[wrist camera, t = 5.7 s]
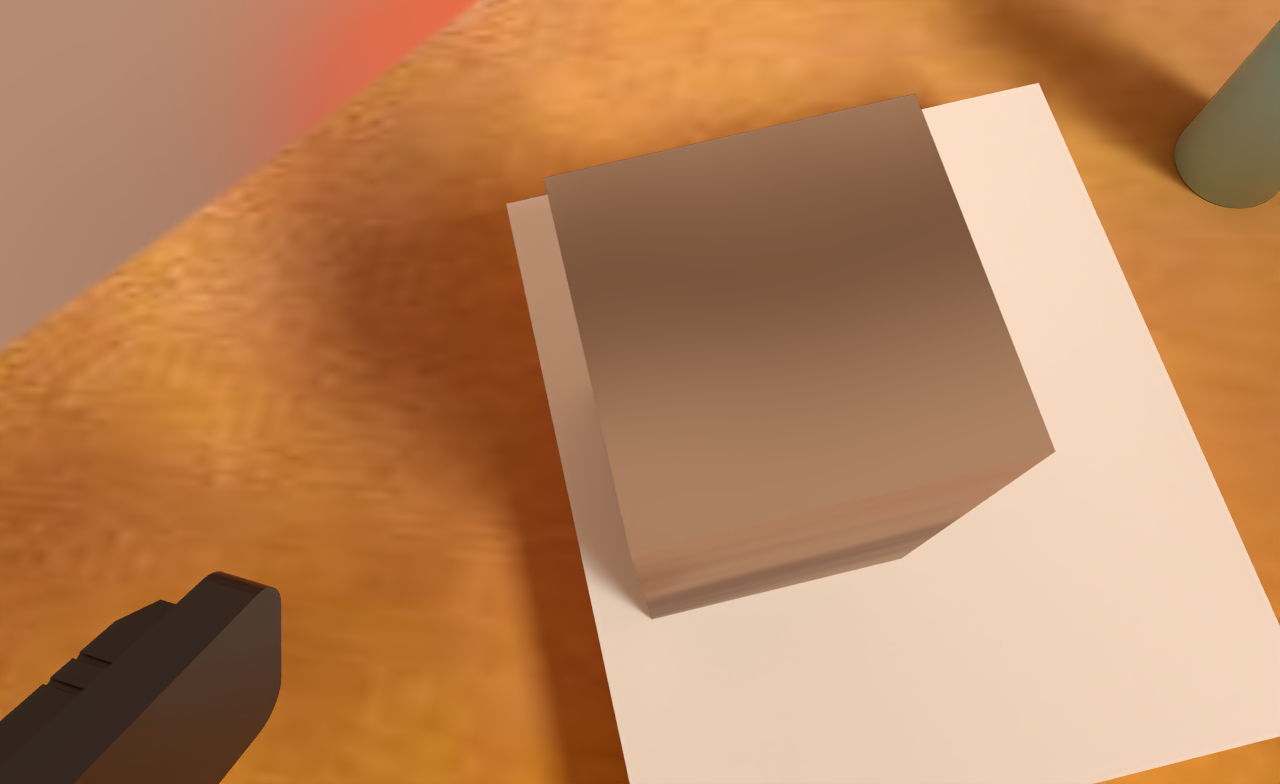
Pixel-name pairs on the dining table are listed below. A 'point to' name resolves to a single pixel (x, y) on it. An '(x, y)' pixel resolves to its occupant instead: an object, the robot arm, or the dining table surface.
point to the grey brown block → (790, 352)
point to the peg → (1238, 134)
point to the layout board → (958, 549)
